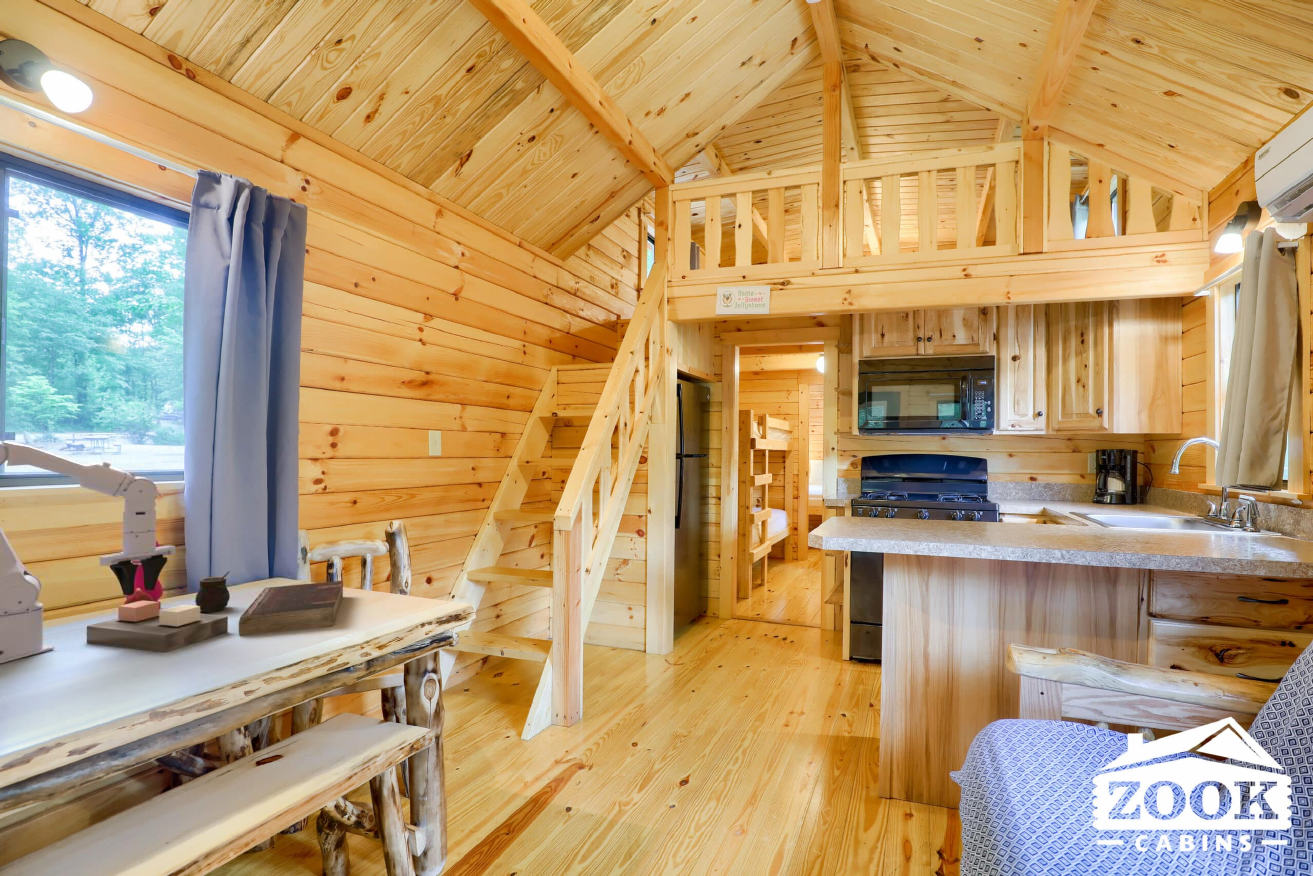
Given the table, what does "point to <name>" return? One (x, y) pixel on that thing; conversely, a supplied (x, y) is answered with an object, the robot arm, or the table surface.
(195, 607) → the cream key
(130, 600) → the onion
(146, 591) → the pepper mill
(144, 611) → the terracotta key
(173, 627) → the key bed
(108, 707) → the table surface
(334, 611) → the hardback book
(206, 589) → the mate gourd
